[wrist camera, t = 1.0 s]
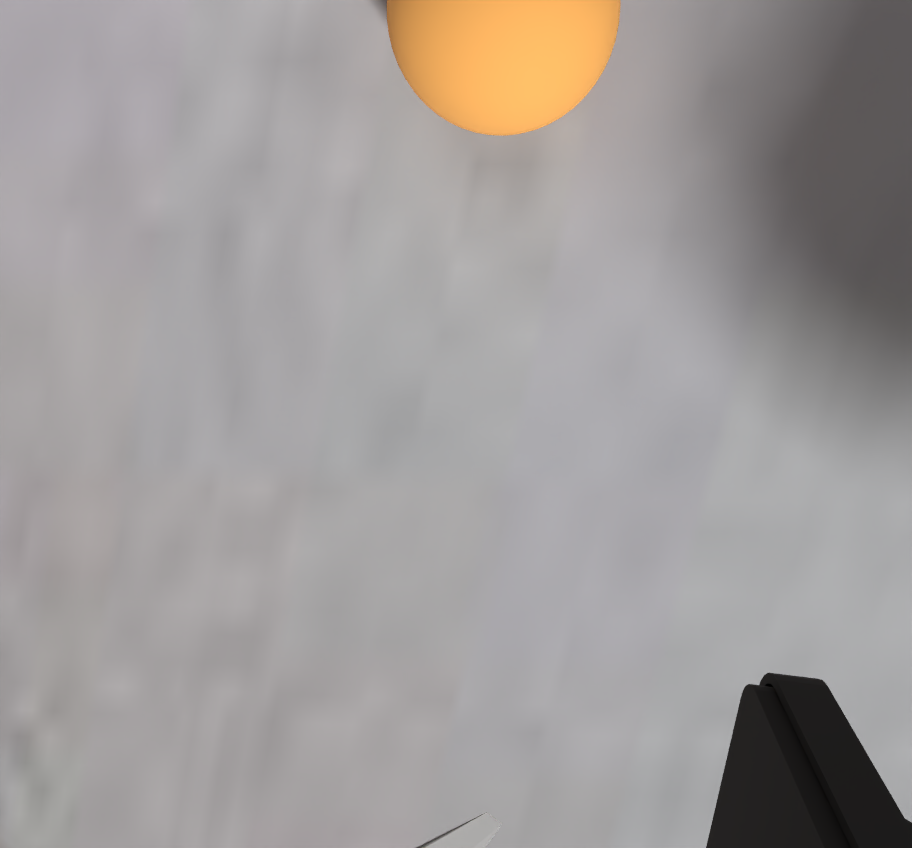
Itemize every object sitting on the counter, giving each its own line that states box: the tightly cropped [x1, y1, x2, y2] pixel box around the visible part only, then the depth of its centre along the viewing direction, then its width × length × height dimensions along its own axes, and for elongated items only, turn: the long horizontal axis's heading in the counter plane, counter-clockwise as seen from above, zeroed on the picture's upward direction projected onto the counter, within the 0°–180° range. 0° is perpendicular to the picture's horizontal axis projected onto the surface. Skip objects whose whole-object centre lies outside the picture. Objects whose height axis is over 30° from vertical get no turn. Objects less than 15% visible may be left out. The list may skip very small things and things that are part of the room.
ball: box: [387, 0, 620, 135], centre depth 22 cm, size 6×6×6 cm
